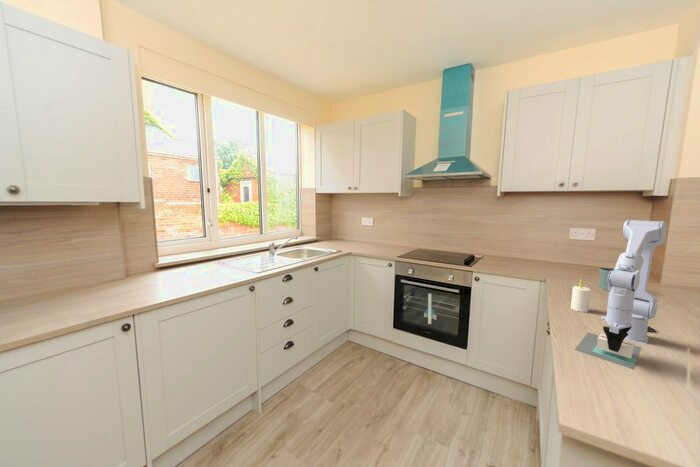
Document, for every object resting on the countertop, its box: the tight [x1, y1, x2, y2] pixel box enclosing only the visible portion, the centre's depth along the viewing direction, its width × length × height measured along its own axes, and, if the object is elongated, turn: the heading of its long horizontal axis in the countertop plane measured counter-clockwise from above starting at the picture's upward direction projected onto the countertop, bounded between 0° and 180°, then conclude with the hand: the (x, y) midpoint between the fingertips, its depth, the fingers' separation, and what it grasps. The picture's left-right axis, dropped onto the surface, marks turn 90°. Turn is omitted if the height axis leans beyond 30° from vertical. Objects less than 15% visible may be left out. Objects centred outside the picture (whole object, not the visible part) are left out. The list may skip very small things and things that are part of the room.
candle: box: [570, 278, 591, 313], centre depth 127 cm, size 6×6×15 cm
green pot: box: [598, 267, 615, 291], centre depth 158 cm, size 10×10×12 cm
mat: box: [574, 332, 642, 370], centre depth 93 cm, size 20×14×1 cm
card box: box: [597, 333, 635, 359], centre depth 88 cm, size 8×5×4 cm, turn 39°
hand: (615, 347), depth 88 cm, fingers closed on card box, 5 cm apart
